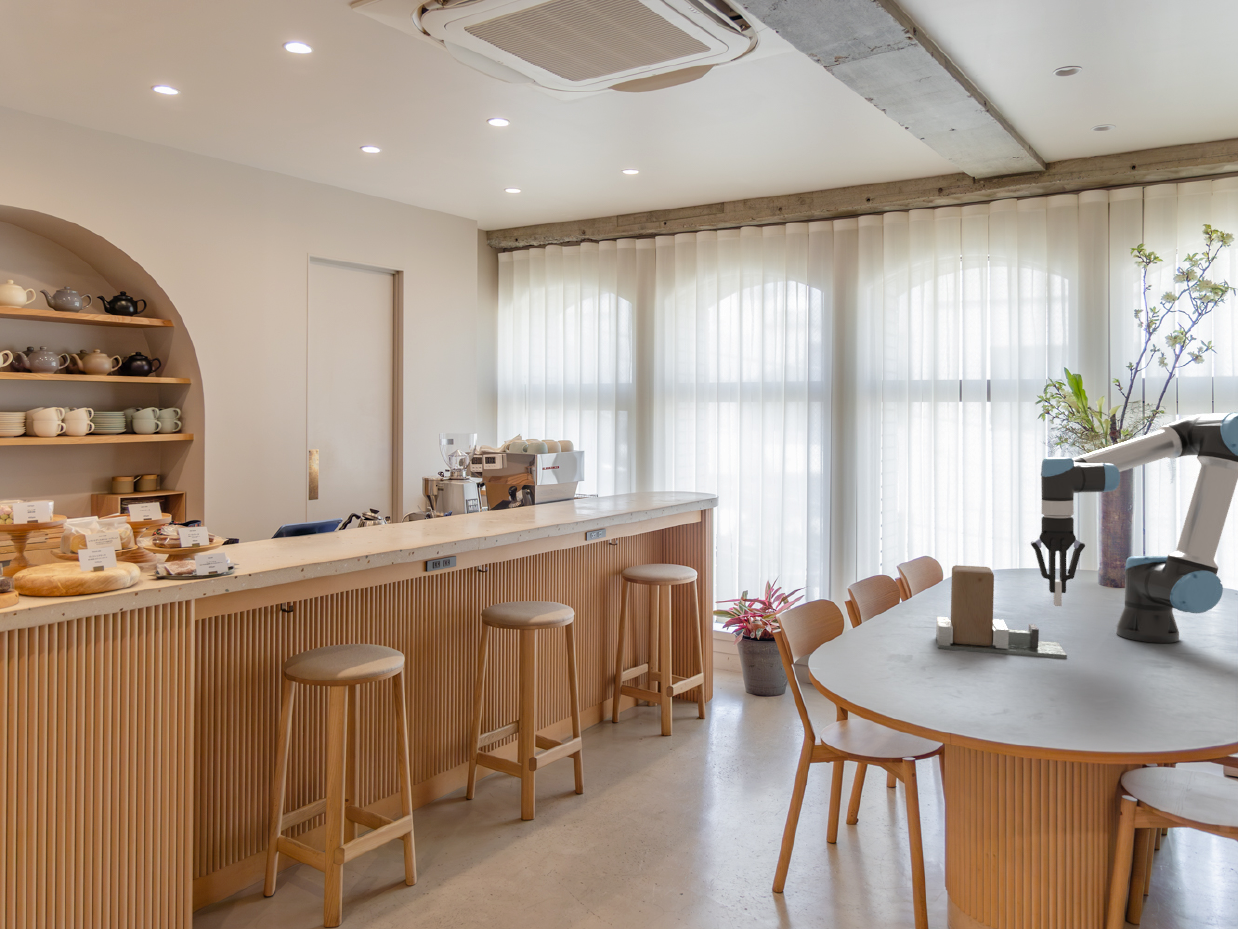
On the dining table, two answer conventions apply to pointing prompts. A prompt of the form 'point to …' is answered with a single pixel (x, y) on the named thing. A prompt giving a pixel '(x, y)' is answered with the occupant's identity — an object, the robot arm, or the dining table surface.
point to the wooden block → (972, 605)
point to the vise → (946, 642)
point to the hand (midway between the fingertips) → (1057, 604)
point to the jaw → (1014, 635)
